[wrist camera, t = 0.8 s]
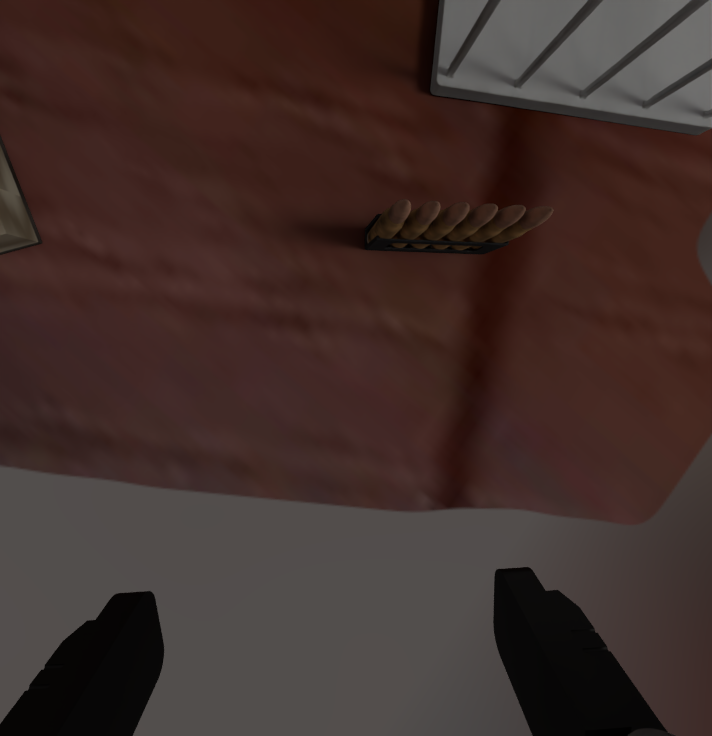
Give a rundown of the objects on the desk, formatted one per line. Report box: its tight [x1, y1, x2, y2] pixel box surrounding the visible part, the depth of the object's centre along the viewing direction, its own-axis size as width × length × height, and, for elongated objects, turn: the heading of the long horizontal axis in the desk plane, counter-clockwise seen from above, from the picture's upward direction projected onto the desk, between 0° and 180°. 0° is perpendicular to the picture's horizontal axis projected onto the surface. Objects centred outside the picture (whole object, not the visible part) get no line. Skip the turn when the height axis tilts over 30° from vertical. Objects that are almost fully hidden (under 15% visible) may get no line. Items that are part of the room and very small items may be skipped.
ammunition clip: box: [365, 199, 553, 254], centre depth 31 cm, size 11×2×12 cm, turn 89°
